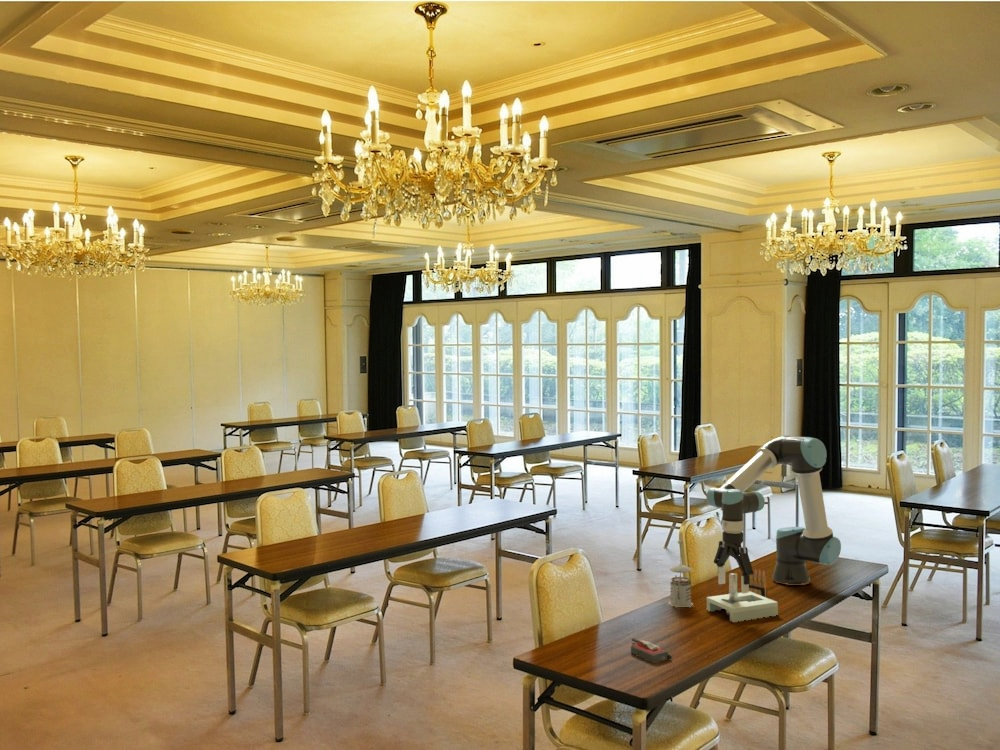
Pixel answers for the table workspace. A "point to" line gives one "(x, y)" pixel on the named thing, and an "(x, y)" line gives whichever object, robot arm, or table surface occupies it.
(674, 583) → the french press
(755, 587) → the ammunition clip
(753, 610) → the keyhole board
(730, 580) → the steel peg
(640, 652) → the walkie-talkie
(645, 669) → the table surface
